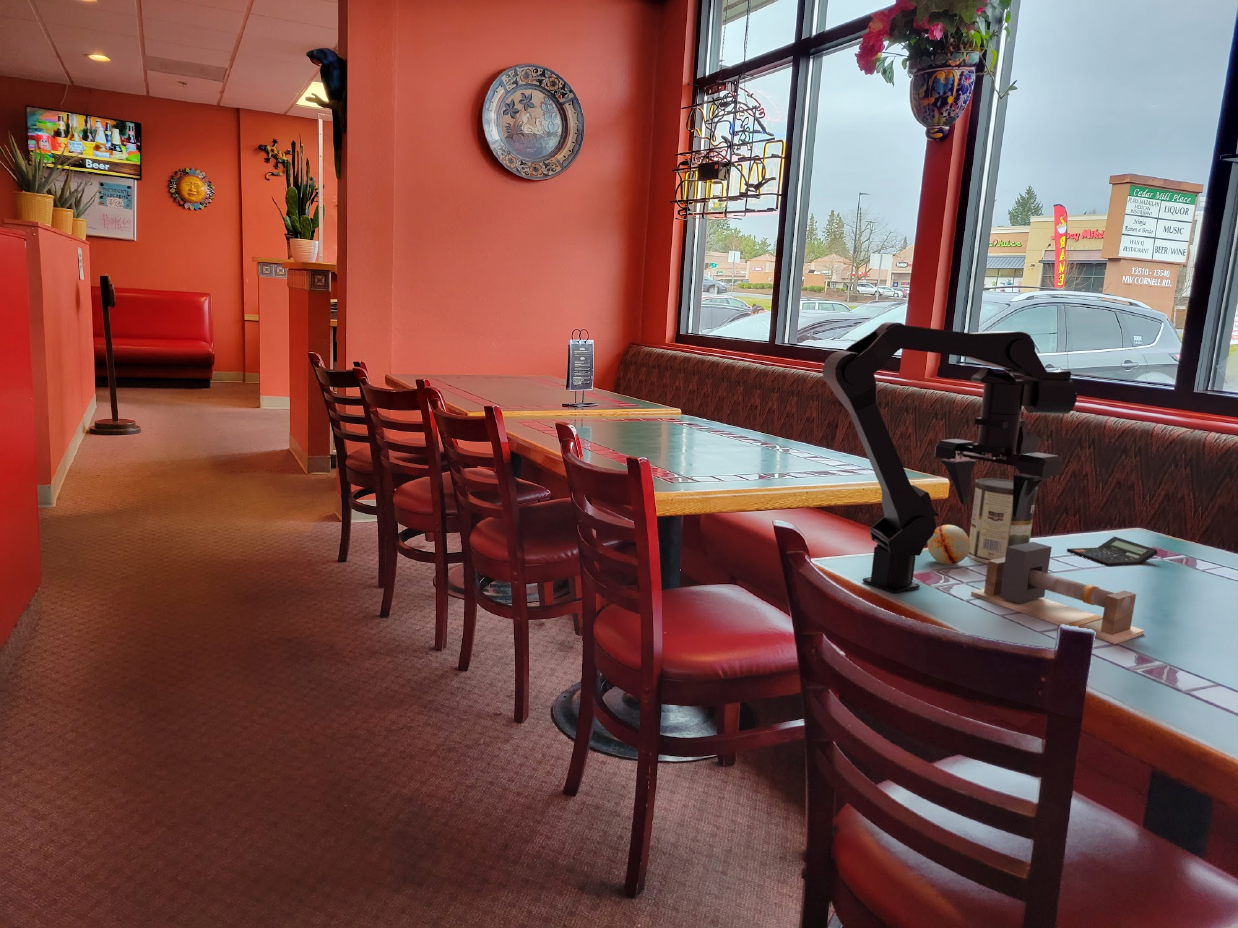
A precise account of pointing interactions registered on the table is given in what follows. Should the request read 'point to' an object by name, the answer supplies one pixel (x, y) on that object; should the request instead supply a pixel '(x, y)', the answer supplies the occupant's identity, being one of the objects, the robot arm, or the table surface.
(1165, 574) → the table surface
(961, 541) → the ball
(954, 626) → the table surface
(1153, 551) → the calculator
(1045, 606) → the pipe stand
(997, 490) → the coffee can
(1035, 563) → the grey sliding block
